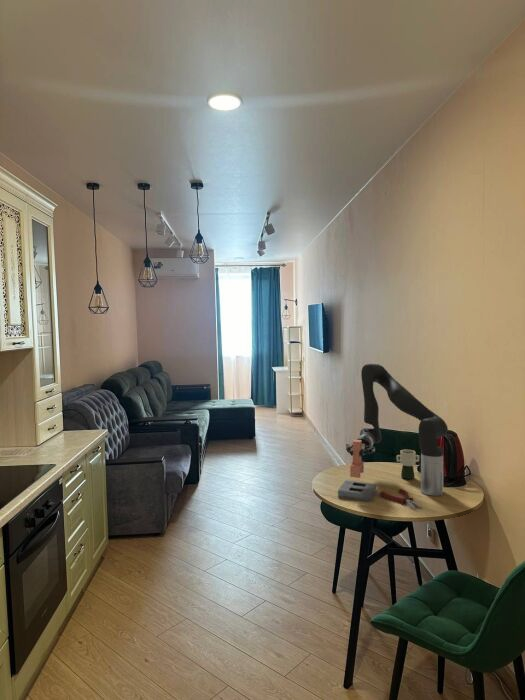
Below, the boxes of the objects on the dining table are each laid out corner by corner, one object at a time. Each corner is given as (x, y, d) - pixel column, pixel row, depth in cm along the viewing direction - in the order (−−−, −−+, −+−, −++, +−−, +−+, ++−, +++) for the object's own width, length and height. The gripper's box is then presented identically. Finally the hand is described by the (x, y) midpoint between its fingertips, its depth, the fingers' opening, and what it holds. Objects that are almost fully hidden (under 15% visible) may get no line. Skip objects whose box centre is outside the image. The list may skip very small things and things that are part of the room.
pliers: (407, 513, 182) (407, 507, 182) (378, 496, 202) (378, 490, 201) (431, 509, 186) (431, 503, 186) (401, 493, 205) (401, 487, 205)
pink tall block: (363, 471, 206) (363, 438, 205) (359, 478, 198) (359, 443, 197) (354, 470, 208) (355, 437, 207) (350, 476, 200) (350, 442, 199)
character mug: (417, 475, 227) (417, 449, 226) (421, 480, 220) (421, 453, 219) (394, 475, 227) (394, 449, 227) (398, 480, 220) (398, 453, 219)
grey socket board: (376, 490, 207) (376, 484, 207) (370, 501, 194) (370, 494, 194) (345, 486, 213) (345, 480, 212) (338, 497, 200) (338, 490, 200)
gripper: (349, 434, 218) (339, 443, 202) (379, 437, 212) (372, 447, 197) (348, 450, 219) (339, 460, 203) (379, 453, 213) (372, 464, 197)
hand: (355, 453), depth 200 cm, fingers closed on pink tall block, 3 cm apart
